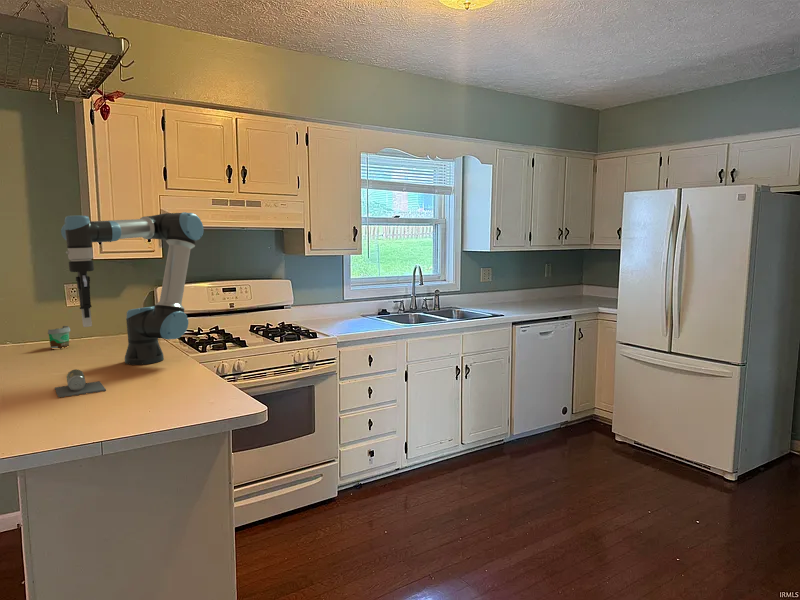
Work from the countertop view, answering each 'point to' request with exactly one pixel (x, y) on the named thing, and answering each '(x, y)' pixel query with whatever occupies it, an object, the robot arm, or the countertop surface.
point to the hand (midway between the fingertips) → (87, 326)
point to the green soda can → (75, 380)
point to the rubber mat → (87, 388)
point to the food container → (59, 337)
